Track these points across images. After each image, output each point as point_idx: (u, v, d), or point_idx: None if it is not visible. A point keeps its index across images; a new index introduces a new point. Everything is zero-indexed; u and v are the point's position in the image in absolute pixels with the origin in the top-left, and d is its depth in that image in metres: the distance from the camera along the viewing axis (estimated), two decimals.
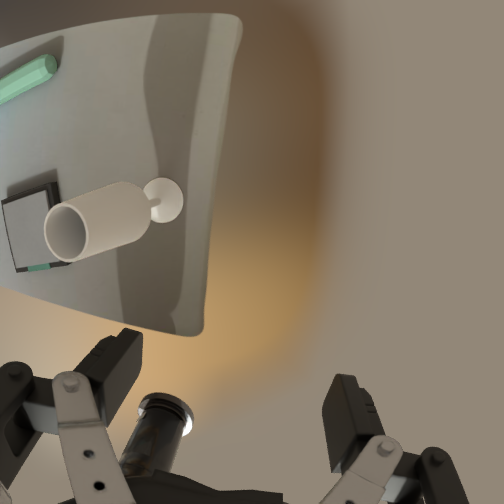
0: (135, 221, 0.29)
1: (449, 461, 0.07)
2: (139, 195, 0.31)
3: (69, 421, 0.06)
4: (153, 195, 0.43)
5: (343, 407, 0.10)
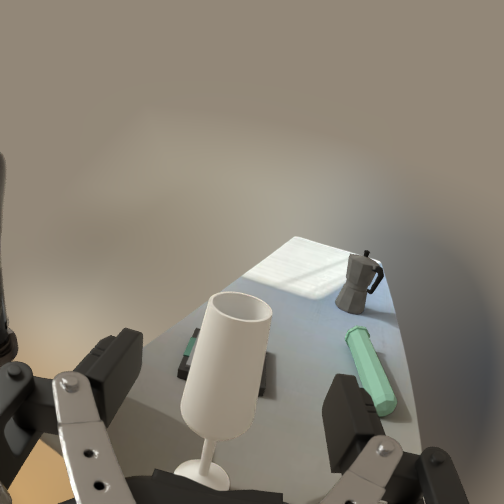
0: (208, 402, 0.23)
1: (450, 461, 0.07)
2: (232, 426, 0.23)
3: (69, 421, 0.06)
4: (211, 472, 0.30)
5: (343, 407, 0.10)
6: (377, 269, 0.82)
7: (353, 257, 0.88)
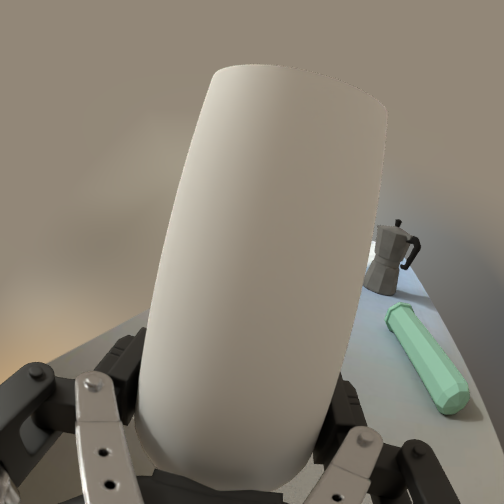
0: (198, 401, 0.07)
1: (431, 453, 0.07)
2: (272, 469, 0.07)
3: (95, 420, 0.07)
4: None
5: None
6: (413, 239, 0.66)
7: (383, 227, 0.72)
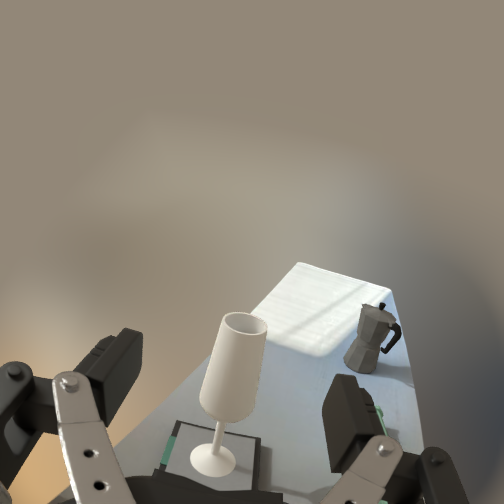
0: (221, 392, 0.32)
1: (450, 461, 0.07)
2: (238, 411, 0.32)
3: (69, 421, 0.06)
4: (221, 452, 0.39)
5: (343, 407, 0.10)
6: (394, 327, 0.67)
7: (366, 311, 0.73)
